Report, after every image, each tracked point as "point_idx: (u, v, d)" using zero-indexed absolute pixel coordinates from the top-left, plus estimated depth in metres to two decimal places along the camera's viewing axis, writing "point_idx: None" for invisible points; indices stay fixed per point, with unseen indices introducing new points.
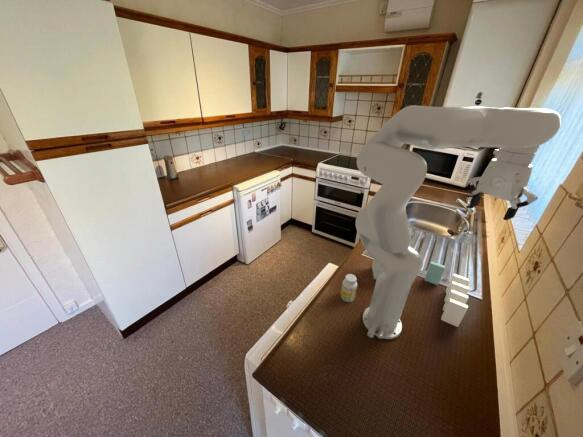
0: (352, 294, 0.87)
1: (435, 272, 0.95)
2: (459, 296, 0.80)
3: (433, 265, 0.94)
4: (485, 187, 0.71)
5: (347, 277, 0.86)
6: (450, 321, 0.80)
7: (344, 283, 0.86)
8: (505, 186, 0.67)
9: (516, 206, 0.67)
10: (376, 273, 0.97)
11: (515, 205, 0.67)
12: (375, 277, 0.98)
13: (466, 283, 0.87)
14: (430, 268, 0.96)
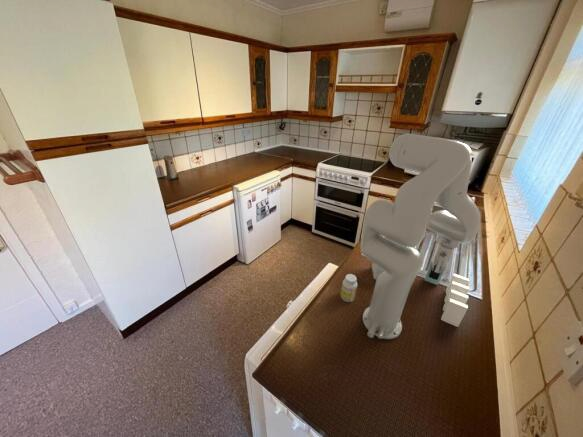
0: (352, 294, 0.87)
1: None
2: (459, 296, 0.80)
3: None
4: None
5: (347, 277, 0.86)
6: (450, 321, 0.80)
7: (344, 283, 0.86)
8: None
9: None
10: (376, 273, 0.97)
11: None
12: (375, 277, 0.98)
13: (466, 283, 0.87)
14: (430, 268, 0.96)
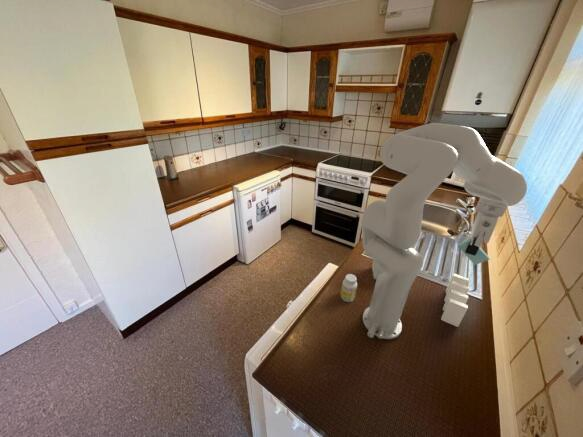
0: (352, 294, 0.87)
1: None
2: (459, 296, 0.80)
3: (461, 245, 0.88)
4: None
5: (347, 277, 0.86)
6: (450, 321, 0.80)
7: (344, 283, 0.86)
8: None
9: None
10: (376, 273, 0.97)
11: None
12: (375, 277, 0.98)
13: (466, 283, 0.87)
14: (463, 250, 0.88)
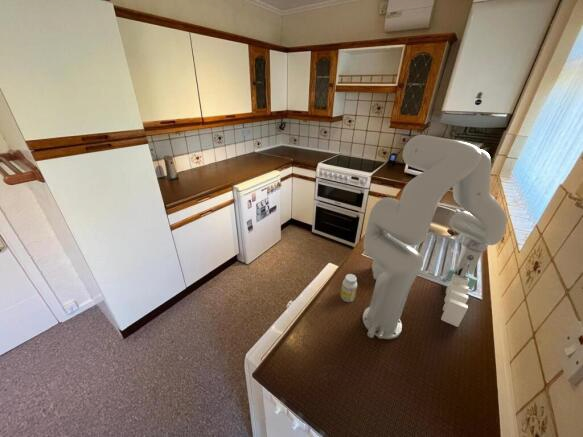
0: (352, 294, 0.87)
1: None
2: (459, 296, 0.80)
3: (447, 277, 0.95)
4: None
5: (347, 277, 0.86)
6: (450, 321, 0.80)
7: (344, 283, 0.86)
8: None
9: None
10: (376, 273, 0.97)
11: None
12: (375, 277, 0.98)
13: (466, 283, 0.87)
14: None
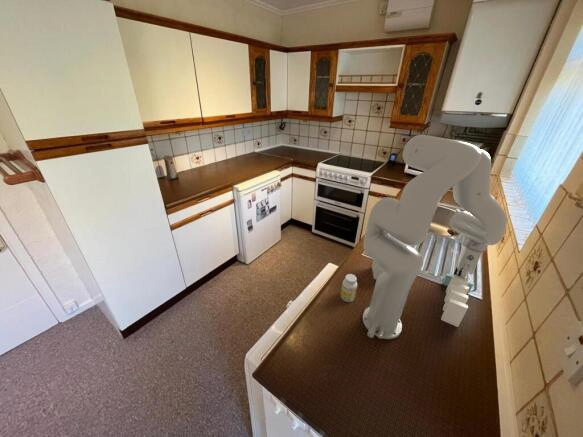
0: (352, 294, 0.87)
1: None
2: (459, 296, 0.80)
3: (444, 282, 0.96)
4: None
5: (347, 277, 0.86)
6: (450, 321, 0.80)
7: (344, 283, 0.86)
8: None
9: None
10: (376, 273, 0.97)
11: None
12: (375, 277, 0.98)
13: (466, 284, 0.86)
14: None
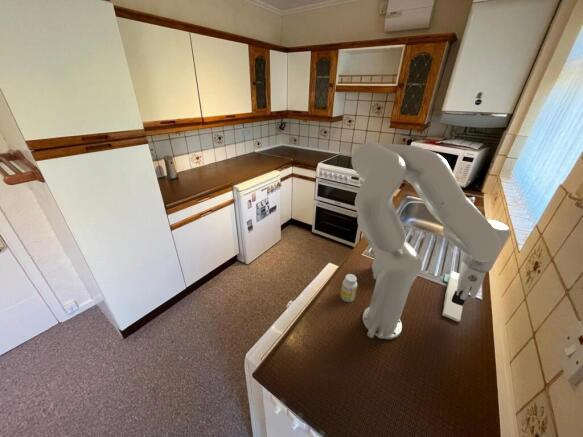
0: (352, 294, 0.87)
1: None
2: (456, 288, 0.90)
3: (445, 279, 0.99)
4: None
5: (347, 277, 0.86)
6: (452, 313, 0.82)
7: (344, 283, 0.86)
8: None
9: None
10: (376, 273, 0.97)
11: None
12: (375, 277, 0.98)
13: None
14: None
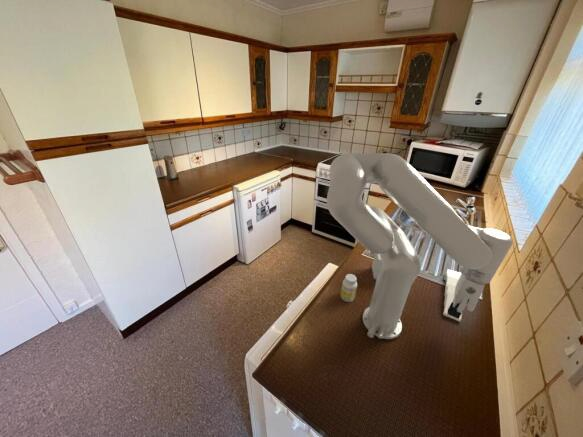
0: (352, 294, 0.87)
1: None
2: None
3: None
4: None
5: (347, 277, 0.86)
6: None
7: (344, 283, 0.86)
8: None
9: None
10: (376, 273, 0.97)
11: None
12: (375, 277, 0.98)
13: (460, 274, 0.98)
14: None
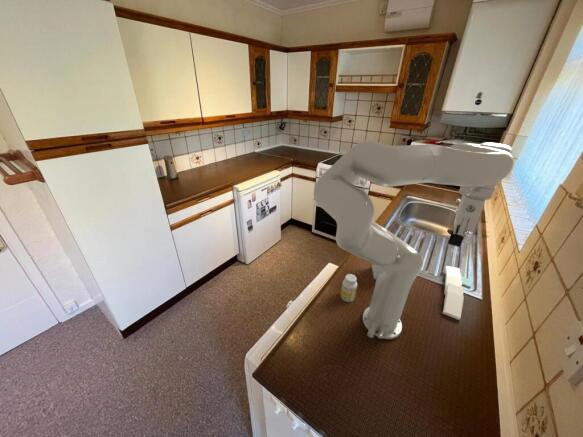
0: (352, 294, 0.87)
1: None
2: (456, 286, 0.91)
3: None
4: None
5: (347, 277, 0.86)
6: (453, 311, 0.83)
7: (344, 283, 0.86)
8: None
9: None
10: (376, 273, 0.97)
11: None
12: (375, 277, 0.98)
13: (458, 270, 1.00)
14: None
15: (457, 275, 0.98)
